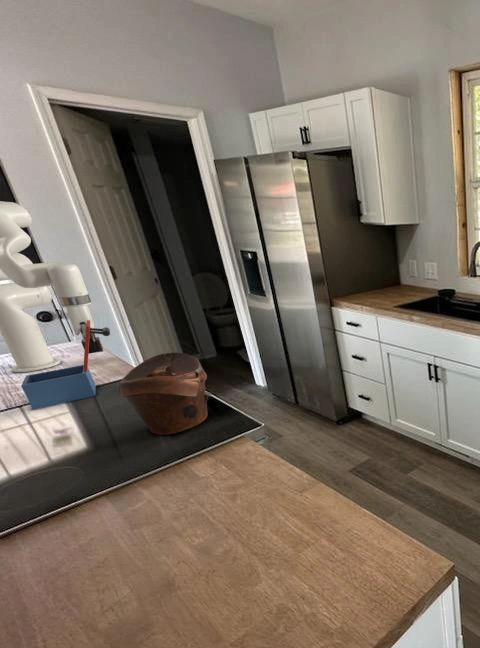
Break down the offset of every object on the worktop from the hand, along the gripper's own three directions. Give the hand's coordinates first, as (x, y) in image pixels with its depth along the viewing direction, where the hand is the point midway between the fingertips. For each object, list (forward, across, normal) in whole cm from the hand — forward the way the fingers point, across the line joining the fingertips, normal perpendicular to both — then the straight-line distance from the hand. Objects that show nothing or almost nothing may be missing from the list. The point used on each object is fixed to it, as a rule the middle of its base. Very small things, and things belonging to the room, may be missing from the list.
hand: (94, 350), depth 148 cm
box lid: (-7, +22, 0) cm, 24 cm away
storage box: (+8, +23, -8) cm, 26 cm away
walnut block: (0, 0, 0) cm, 0 cm away
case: (+7, +73, +16) cm, 75 cm away
